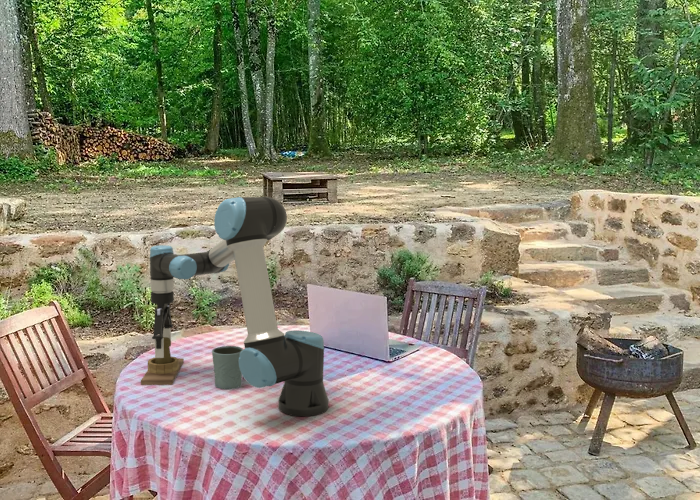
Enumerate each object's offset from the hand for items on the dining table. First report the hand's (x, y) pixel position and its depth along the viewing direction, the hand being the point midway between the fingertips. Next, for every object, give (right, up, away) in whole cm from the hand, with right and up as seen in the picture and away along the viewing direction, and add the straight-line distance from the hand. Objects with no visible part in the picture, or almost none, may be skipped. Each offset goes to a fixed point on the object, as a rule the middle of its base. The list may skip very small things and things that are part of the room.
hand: (163, 351), depth 223 cm
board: (0, -8, +1) cm, 8 cm away
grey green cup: (+24, -10, -9) cm, 27 cm away
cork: (0, -6, +1) cm, 6 cm away
